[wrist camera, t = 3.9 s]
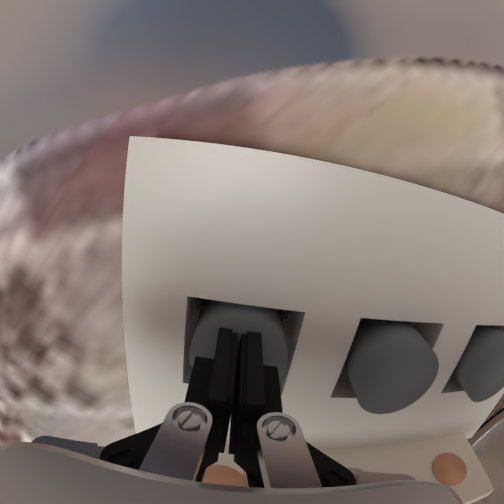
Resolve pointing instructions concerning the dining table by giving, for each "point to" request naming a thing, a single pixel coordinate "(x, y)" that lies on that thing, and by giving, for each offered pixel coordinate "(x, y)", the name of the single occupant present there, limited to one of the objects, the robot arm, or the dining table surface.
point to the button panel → (311, 293)
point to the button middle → (389, 365)
